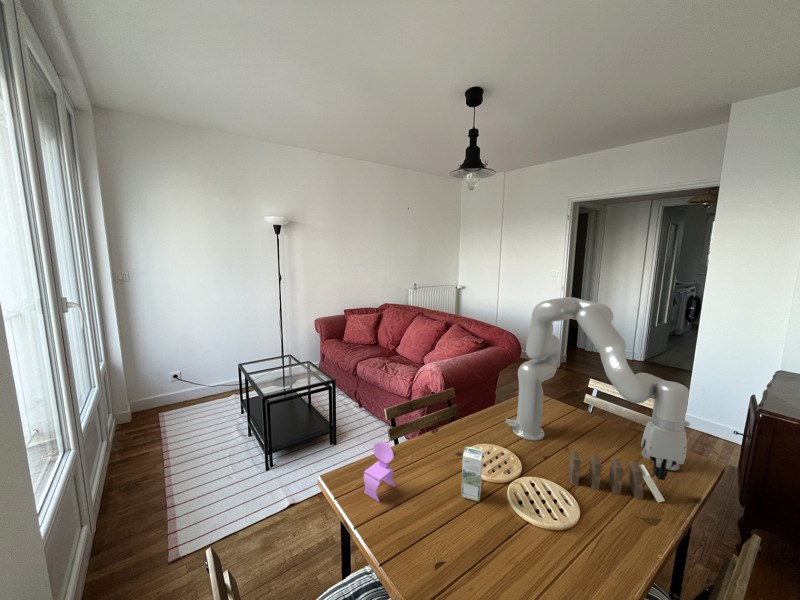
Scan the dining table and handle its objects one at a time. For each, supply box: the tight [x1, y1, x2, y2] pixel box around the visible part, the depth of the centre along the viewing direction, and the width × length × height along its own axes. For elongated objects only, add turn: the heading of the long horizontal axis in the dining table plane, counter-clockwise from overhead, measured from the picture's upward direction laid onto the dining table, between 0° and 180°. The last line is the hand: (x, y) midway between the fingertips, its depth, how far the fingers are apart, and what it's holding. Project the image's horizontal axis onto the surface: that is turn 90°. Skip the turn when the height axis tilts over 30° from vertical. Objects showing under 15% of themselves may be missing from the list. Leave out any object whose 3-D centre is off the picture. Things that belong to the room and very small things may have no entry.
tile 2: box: [608, 457, 624, 496], centre depth 105 cm, size 2×5×9 cm, turn 161°
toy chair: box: [363, 441, 396, 503], centre depth 103 cm, size 8×9×15 cm
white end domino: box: [638, 464, 666, 503], centre depth 102 cm, size 2×5×9 cm
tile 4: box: [568, 450, 582, 487], centre depth 109 cm, size 2×5×9 cm, turn 162°
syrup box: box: [460, 446, 484, 503], centre depth 102 cm, size 6×6×14 cm
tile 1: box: [628, 460, 644, 500], centre depth 103 cm, size 2×5×9 cm, turn 161°
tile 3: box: [587, 453, 603, 491], centre depth 107 cm, size 2×5×9 cm, turn 161°
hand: (659, 477), depth 101 cm, fingers closed
